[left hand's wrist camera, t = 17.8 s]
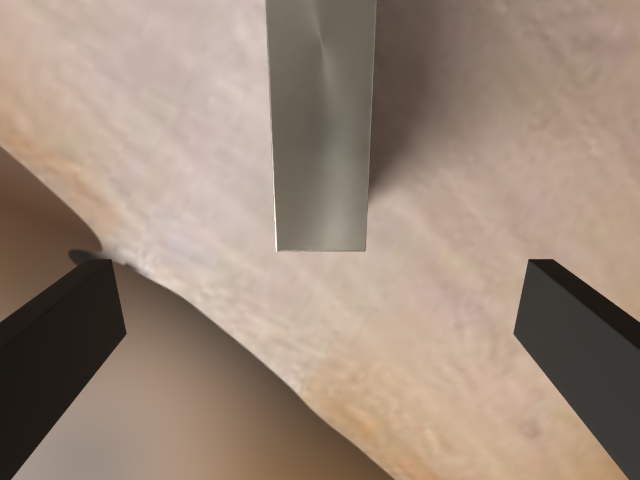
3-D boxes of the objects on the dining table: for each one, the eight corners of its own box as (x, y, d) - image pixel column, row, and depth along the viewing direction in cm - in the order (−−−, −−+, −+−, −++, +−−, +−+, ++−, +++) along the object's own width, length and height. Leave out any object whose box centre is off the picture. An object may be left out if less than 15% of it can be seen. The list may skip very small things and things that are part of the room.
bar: (354, 212, 34) (365, 251, 26) (286, 212, 34) (275, 251, 26) (366, -159, 25) (389, -278, 17) (275, -159, 25) (253, -278, 17)
